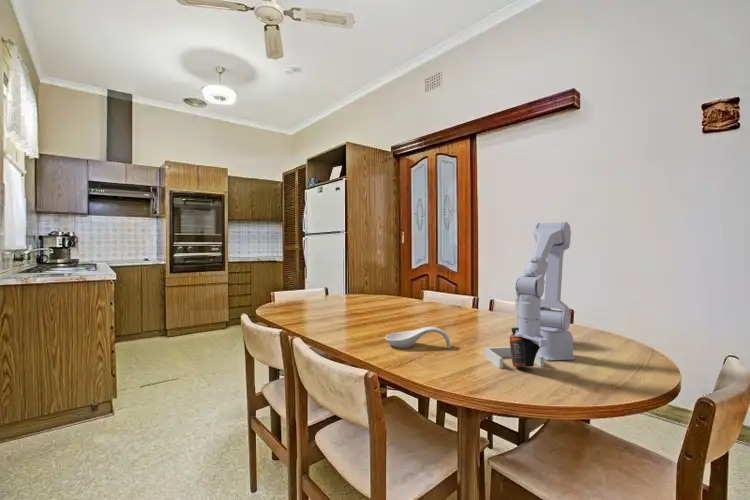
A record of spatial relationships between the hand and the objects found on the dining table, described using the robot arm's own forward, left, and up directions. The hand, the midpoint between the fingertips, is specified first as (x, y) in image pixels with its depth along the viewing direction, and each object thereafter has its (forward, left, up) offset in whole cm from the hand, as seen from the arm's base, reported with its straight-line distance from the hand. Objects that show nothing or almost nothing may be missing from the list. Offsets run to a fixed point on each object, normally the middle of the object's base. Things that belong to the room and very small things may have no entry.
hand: (529, 365), depth 101 cm
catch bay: (0, -10, -2) cm, 10 cm away
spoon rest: (+26, -30, -3) cm, 40 cm away
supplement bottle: (0, -3, -2) cm, 3 cm away
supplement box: (-19, -31, -2) cm, 37 cm away
